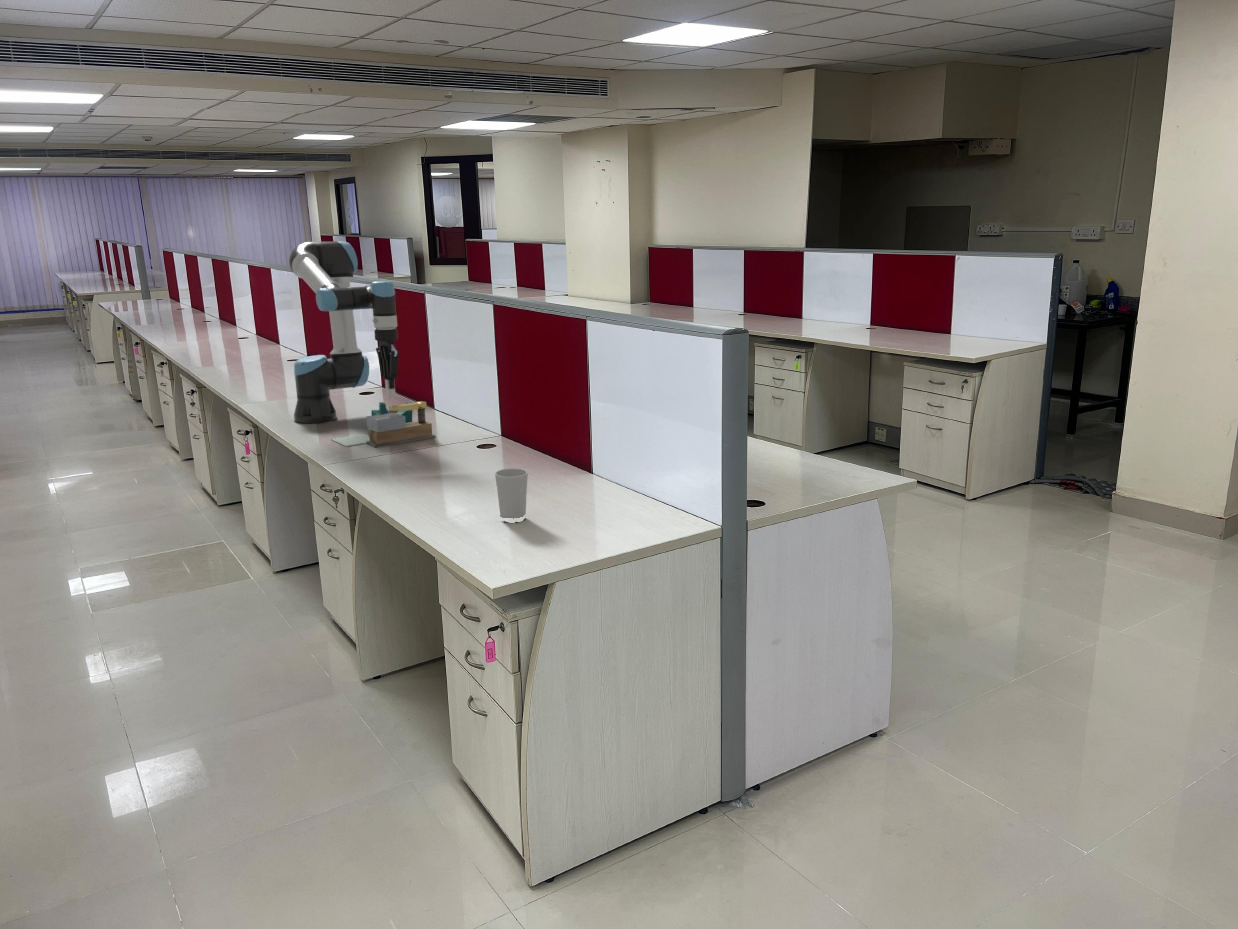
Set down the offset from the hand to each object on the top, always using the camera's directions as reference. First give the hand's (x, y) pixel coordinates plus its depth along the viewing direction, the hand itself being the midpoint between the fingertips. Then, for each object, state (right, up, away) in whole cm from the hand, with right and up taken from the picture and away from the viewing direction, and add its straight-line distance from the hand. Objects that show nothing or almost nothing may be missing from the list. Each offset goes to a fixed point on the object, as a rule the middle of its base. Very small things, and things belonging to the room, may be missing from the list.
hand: (391, 397), depth 302 cm
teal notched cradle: (-4, -10, +16) cm, 19 cm away
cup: (+52, -36, -83) cm, 104 cm away
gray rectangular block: (0, -11, -7) cm, 13 cm away
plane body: (+4, -15, -3) cm, 16 cm away
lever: (+7, -4, -3) cm, 9 cm away
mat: (-11, -15, -3) cm, 19 cm away
